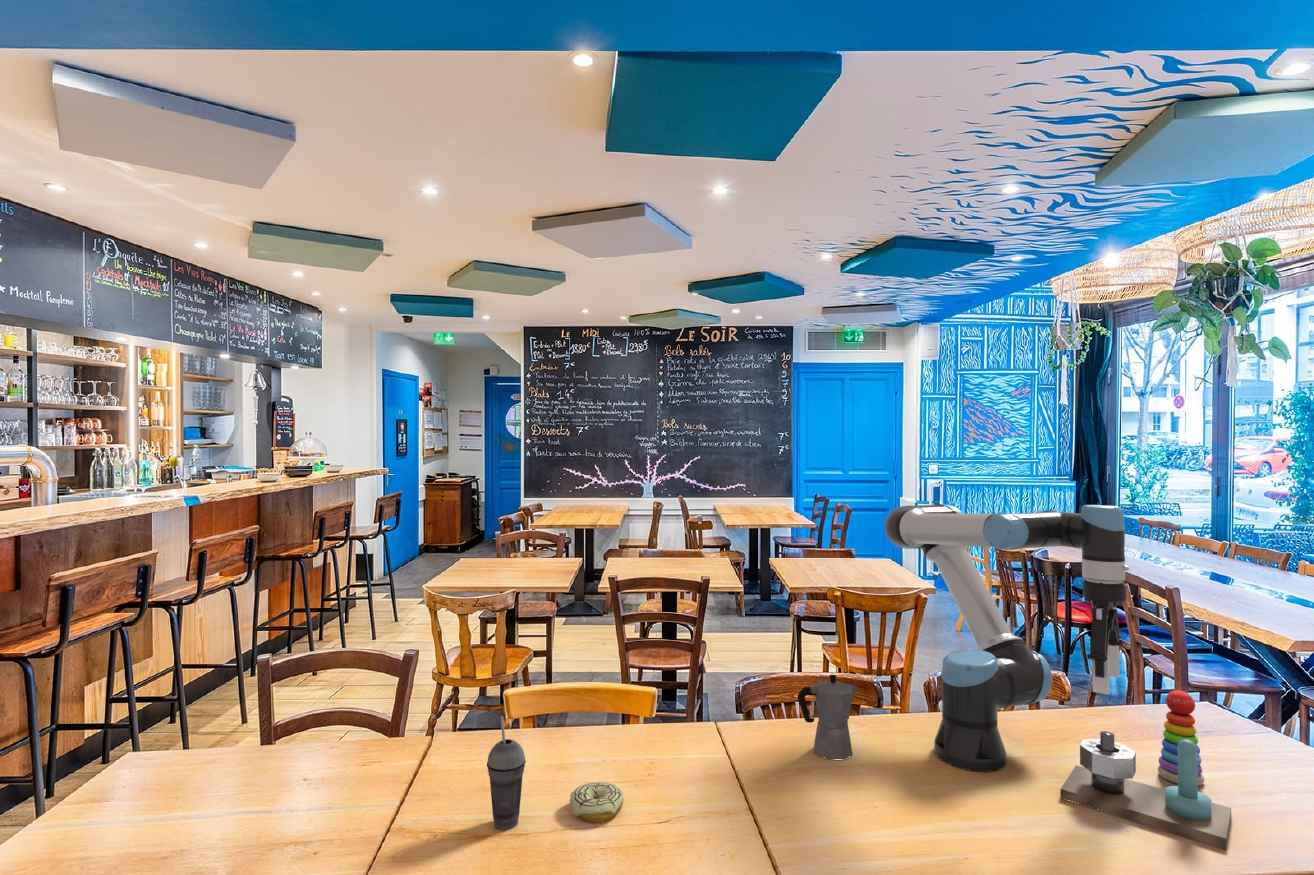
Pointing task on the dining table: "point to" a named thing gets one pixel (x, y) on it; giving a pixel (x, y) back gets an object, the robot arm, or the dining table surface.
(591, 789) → the decorated donut
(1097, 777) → the stand rod
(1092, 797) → the walnut board
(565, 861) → the dining table surface
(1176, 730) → the stacking toy
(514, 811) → the beverage cup
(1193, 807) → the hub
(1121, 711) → the dining table surface
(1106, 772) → the steel ring
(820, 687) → the coffeepot
